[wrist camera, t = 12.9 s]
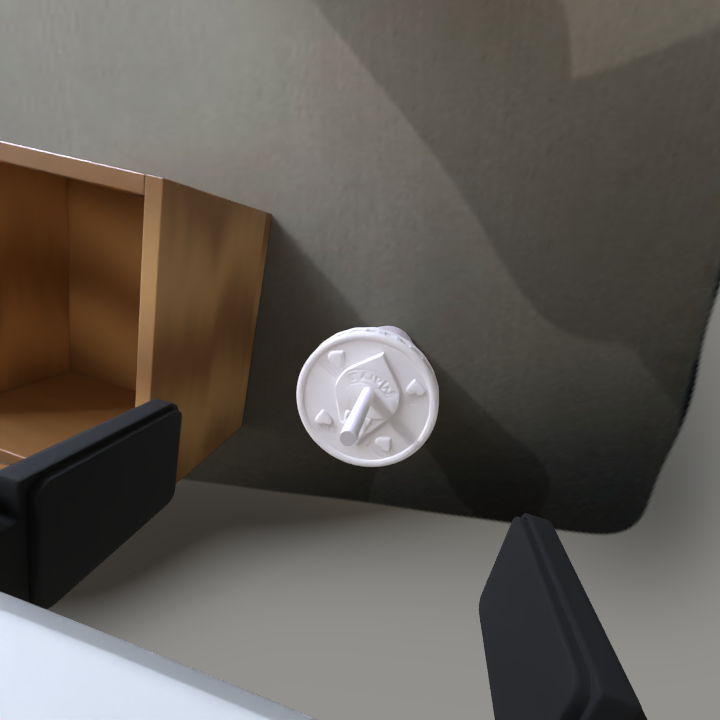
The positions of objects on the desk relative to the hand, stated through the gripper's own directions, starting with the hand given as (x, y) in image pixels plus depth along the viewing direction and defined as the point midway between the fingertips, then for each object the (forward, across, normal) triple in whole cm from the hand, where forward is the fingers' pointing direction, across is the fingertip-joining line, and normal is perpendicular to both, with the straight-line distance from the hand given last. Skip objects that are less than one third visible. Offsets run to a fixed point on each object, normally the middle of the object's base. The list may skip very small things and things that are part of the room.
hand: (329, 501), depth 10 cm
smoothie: (+16, 0, -1) cm, 16 cm away
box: (+16, +18, 0) cm, 24 cm away
